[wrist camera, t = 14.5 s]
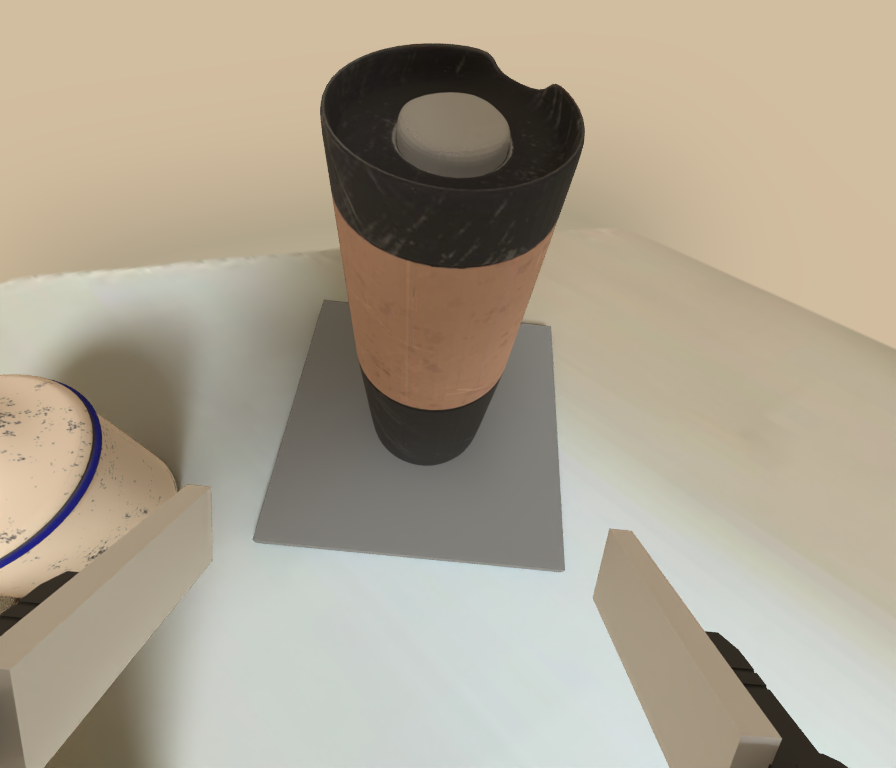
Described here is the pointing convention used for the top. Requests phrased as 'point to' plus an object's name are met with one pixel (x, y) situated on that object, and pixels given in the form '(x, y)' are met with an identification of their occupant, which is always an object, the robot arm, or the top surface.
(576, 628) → the top surface
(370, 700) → the top surface
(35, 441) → the teacup with lid
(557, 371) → the top surface
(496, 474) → the pad
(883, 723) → the top surface
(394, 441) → the travel mug
